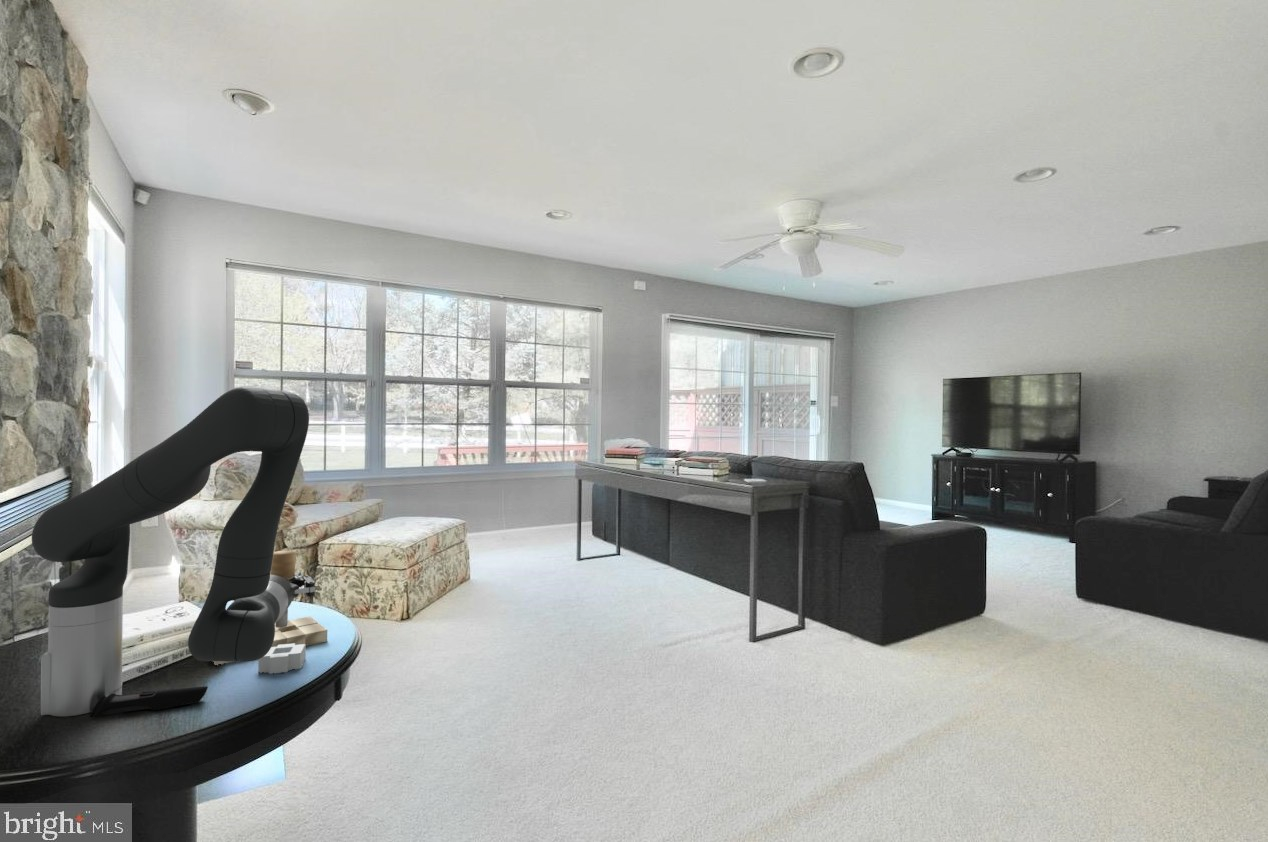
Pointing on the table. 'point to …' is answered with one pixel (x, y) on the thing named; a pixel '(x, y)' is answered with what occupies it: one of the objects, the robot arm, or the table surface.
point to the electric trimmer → (148, 700)
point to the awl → (283, 575)
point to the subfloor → (297, 633)
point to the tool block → (282, 658)
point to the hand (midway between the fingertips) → (285, 577)
